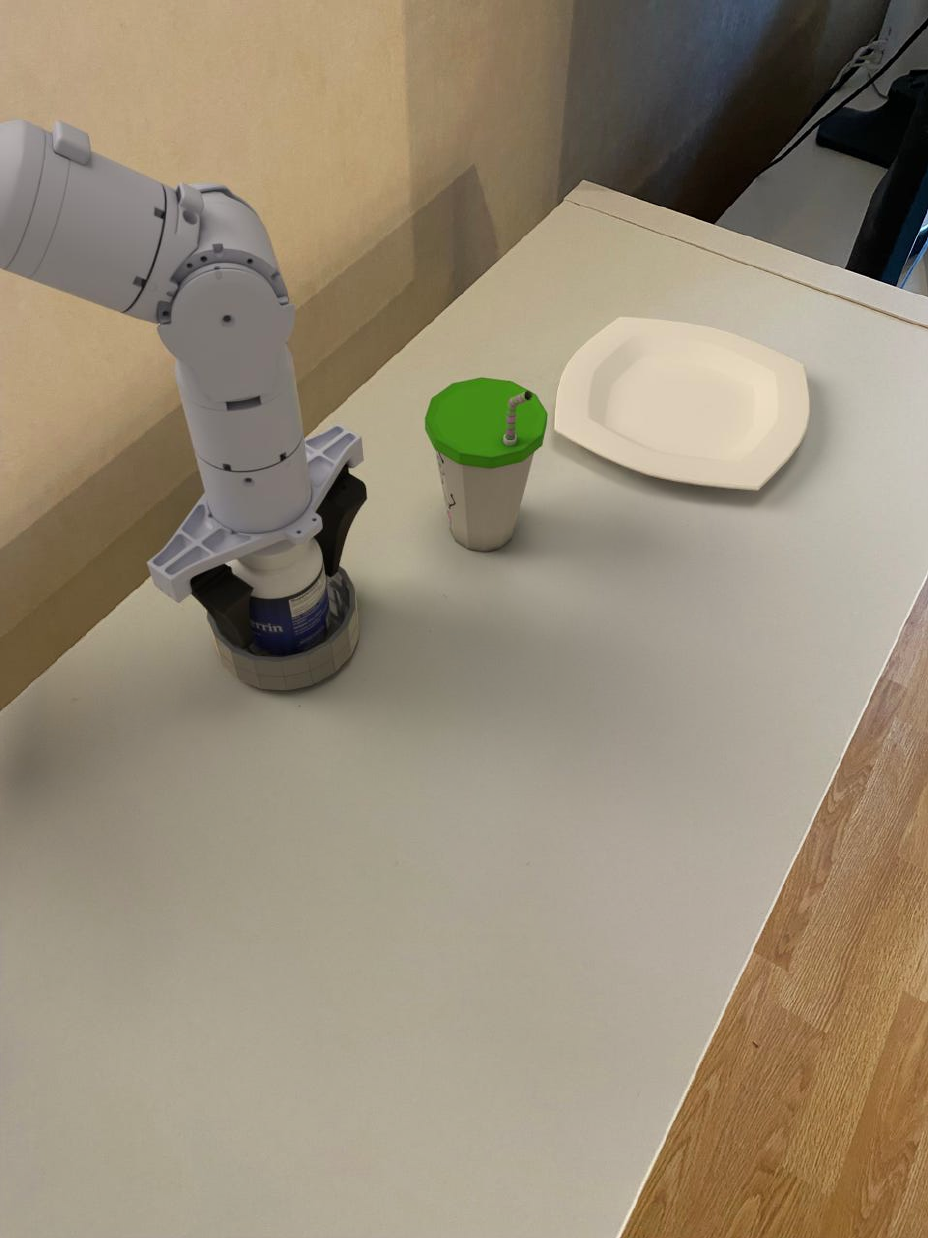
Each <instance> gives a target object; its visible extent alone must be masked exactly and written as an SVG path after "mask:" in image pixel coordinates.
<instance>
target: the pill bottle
mask: <svg viewBox="0 0 928 1238" xmlns="http://www.w3.org/2000/svg"><path fill="white" fill-rule="evenodd" d="M225 564H226V565H227V566H230V567H231V568H232V572H233V574H235V575H236V576H238V577H239V578H240V579H242V580H243V581H245V582H246V583H248V584H249V585H250V586H252V587H253V588H254V589H253V591H252V593H251V597H250V601H249V618H250V622H251V626H252V631H253V643H252V644H251V645H250V646H249V648H250V650H251V651H252V652H253V653H255V654H256V655H257V656H270V657H285V656H289V655H294V654H299V653H303V652H307V651H308V650H310V649H312V648H314V647H316V646H318V645H320V644H322V643H323V642H325V641H327V640H328V638H329V635H330V632H331V627H332V620H331V612H330V604H329V598H328V590H327V584H326V577H325V570H324V563H323V556H322V552H321V549H320V546H319V544H318V543H317V541H316V540H315V538H314V537H312V538H311V539H310V540H309V541H307V542H306V543H304V544H302V545H296V544H293V543H291V542H290V541H288V540H282V541H279V542H277V543H274V544H272V545H269V546H267V547H264V548H262V549H259V550H257V551H254V552H252V553H249V554H247V555H244V556H242V557H239V558H237V559H234V560H232V561H229V562H227V563H225Z"/></svg>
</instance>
